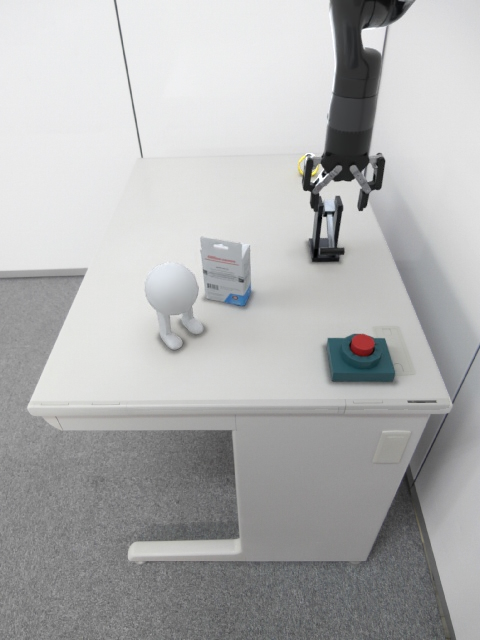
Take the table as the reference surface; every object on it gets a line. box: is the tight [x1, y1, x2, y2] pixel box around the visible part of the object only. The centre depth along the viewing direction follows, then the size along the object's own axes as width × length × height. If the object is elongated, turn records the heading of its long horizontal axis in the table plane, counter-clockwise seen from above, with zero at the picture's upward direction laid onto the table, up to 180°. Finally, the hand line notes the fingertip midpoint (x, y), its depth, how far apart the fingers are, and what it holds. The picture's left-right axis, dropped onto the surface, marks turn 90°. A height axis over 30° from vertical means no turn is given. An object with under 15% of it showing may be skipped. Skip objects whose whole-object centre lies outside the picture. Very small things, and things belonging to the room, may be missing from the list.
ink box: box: [199, 235, 252, 307], centre depth 85 cm, size 8×5×15 cm, turn 71°
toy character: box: [144, 261, 205, 351], centre depth 77 cm, size 9×9×15 cm
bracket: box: [307, 195, 344, 263], centre depth 96 cm, size 8×6×13 cm
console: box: [325, 333, 396, 383], centre depth 74 cm, size 10×8×4 cm
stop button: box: [351, 333, 374, 357], centre depth 73 cm, size 4×4×2 cm
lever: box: [319, 199, 346, 256], centre depth 92 cm, size 12×5×2 cm, turn 179°
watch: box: [297, 152, 320, 177], centre depth 128 cm, size 6×3×6 cm, turn 81°
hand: (337, 209), depth 84 cm, fingers open, 8 cm apart
